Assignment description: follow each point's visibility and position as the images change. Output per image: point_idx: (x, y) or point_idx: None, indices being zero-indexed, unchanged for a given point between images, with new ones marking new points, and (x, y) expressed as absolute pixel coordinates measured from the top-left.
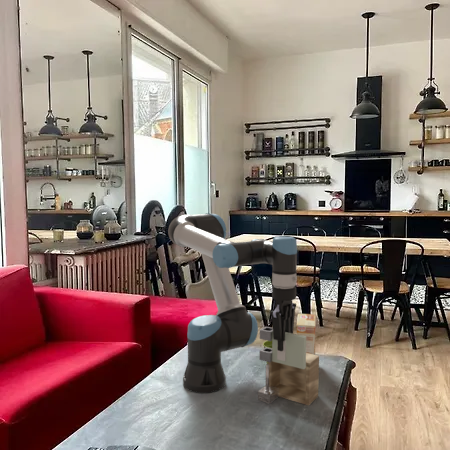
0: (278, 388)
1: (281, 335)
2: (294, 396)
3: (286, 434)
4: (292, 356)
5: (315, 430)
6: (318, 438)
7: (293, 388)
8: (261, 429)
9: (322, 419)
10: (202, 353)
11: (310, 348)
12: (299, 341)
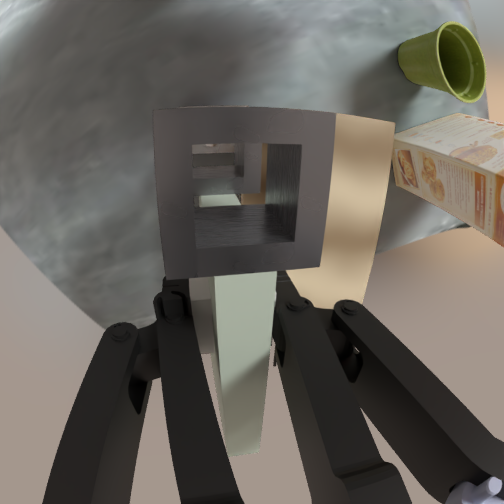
0: None
1: (139, 404)
2: (250, 201)
3: (83, 268)
4: None
5: (143, 305)
6: (122, 321)
7: None
8: (57, 213)
9: None
10: None
11: (454, 205)
12: (222, 421)
